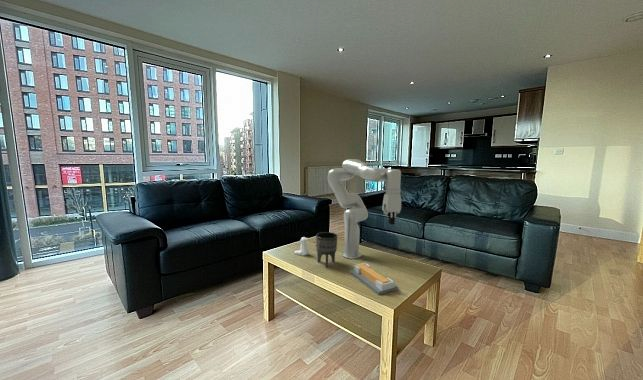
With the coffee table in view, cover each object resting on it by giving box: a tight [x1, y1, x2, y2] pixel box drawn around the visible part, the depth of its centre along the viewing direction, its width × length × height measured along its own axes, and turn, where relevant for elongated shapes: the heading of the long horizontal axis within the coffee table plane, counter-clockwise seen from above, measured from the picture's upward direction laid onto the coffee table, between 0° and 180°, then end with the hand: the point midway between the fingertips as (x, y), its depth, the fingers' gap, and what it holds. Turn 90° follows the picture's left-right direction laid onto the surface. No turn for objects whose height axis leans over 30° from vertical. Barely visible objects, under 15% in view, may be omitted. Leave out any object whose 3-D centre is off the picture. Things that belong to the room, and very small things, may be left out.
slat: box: [357, 263, 389, 284], centre depth 133 cm, size 22×4×4 cm, turn 26°
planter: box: [315, 231, 338, 268], centre depth 155 cm, size 13×13×18 cm
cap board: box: [349, 262, 399, 296], centre depth 134 cm, size 25×12×4 cm, turn 25°
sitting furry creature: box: [294, 236, 310, 257], centre depth 170 cm, size 10×9×12 cm
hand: (391, 223), depth 145 cm, fingers closed
